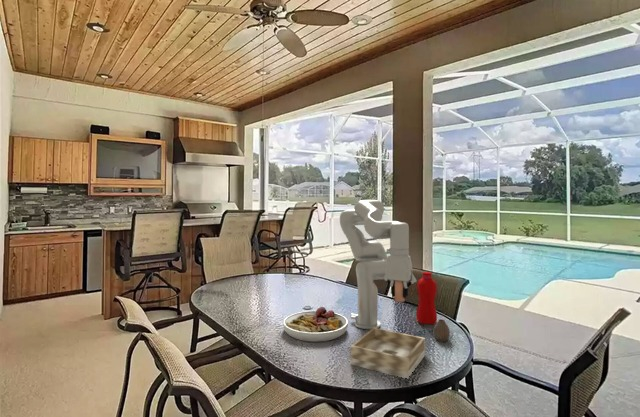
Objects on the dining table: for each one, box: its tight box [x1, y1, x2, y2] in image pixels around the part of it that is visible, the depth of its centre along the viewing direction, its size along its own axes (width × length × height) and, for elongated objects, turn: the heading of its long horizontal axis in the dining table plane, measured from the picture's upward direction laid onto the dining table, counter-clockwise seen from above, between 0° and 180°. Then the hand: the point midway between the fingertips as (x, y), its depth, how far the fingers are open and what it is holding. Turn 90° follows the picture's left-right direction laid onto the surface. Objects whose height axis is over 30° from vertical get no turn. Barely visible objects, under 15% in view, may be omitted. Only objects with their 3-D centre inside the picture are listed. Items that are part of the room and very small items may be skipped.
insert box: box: [350, 328, 426, 380], centre depth 145 cm, size 22×22×7 cm
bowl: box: [282, 306, 349, 343], centre depth 175 cm, size 30×30×8 cm
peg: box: [394, 281, 406, 303], centre depth 155 cm, size 4×4×10 cm
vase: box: [432, 318, 451, 343], centre depth 164 cm, size 7×7×9 cm
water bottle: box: [416, 271, 438, 325], centre depth 187 cm, size 9×11×25 cm
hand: (399, 296), depth 155 cm, fingers closed on peg, 4 cm apart
